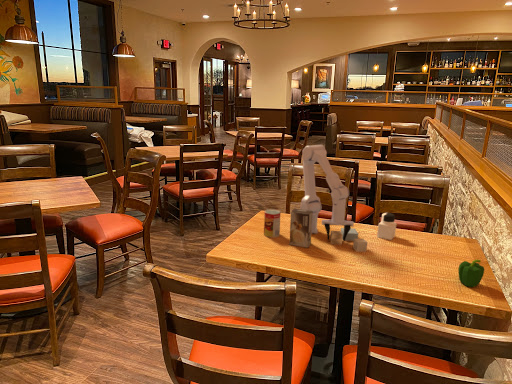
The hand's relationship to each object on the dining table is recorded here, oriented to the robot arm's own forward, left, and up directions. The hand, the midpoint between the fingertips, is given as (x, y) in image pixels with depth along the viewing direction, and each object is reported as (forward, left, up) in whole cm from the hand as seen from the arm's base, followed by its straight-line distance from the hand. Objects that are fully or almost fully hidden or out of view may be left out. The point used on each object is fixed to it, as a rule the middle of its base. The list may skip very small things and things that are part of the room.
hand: (336, 239), depth 177 cm
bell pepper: (+46, -34, -2) cm, 57 cm away
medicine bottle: (+26, +12, -2) cm, 29 cm away
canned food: (-31, +5, -2) cm, 31 cm away
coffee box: (-17, -5, -2) cm, 18 cm away
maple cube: (0, 0, -2) cm, 2 cm away
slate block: (+7, +7, -2) cm, 10 cm away
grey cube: (+10, -7, -2) cm, 12 cm away
